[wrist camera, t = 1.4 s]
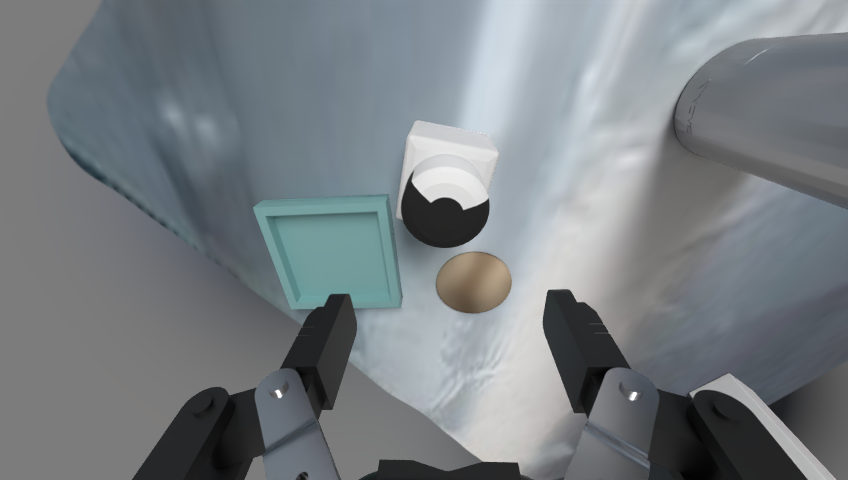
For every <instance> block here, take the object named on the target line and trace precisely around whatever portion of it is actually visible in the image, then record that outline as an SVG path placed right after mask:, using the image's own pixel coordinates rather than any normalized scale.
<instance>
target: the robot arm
mask: <svg viewBox="0 0 848 480" xmlns="http://www.w3.org/2000/svg"><path fill="white" fill-rule="evenodd" d="M675 131H676V134H677V138H678V139H679V141H680V142H681V144H682V145H683V146H684V147H685V148H687V149H688V150H689V151H691V152H694V153H696V154H699V155H701V156H704V157H707V158H709V159H712V160H715V161H718V162H720V163H723V164H725V165H728V166H731V167H733V168H736V169H739V170H741V171H744V172H747V173H750V174H752V175H755V176H758V177H761V178H763V179H766V180H769V181H771V182H774V183H777V184H780V185H782V186H785V187H788V188H791V189H793V190H796V191H799V192H801V193H804V194H807V195H810V196H812V197H815V198H818V199H821V200H823V201H826V202H829V203H831V204H834V205H837V206H840V207H842V208H845V209H848V32H846V33H832V34H818V35H801V36H788V37H775V38H762V39H752V40H748V41H745V42H741V43H738V44H736V45H734V46H732V47H730V48H727V49H725V50H724V51H722V52H721V53H719V54H718V55H716V56H715V57H713V58H712V59H710V60H709V61H708V62H707V63H706V64H705V65H704V66H703V67H702V68H701V69H699V71H698V72H697V73H696V74H695V75H694V77H693V78H692V79H691V80H690V81H689V83H688V85H687V86H686V88H685V89H684V91H683V93H682V95H681V97H680V100H679V102H678V105H677V108H676V113H675ZM543 329H544V333H545V336H546V339H547V342H548V344H549V347H550V350H551V352H552V355H553V358H554V360H555V363H556V366H557V368H558V371H559V374H560V376H561V379H562V382H563V384H564V387H565V390H566V392H567V395H568V398H569V400H570V403H571V406H572V408H573V411H574V413H586V415H587V418H588V421H587V423H586V425H585V427H584V430H583V432H582V435H581V437H580V440H579V443H578V445H577V448H576V450H575V453H574V455H573V458H572V461H571V463H570V466H569V468H568V471H567V474H566V476H565V479H564V480H648V475H649V469H650V462H652V463H654V464H657V465H661V466H663V467H666V468H668V469H669V471H670V473H671V475H672V477H673V479H674V480H808V479H807V478H806V477H805V475H804V474H803V473H802V472H801V470H800V469H799V468H798V467H797V466H796V464H795V463H794V462H793V461H792V459H791V458H790V457H789V456H788V455H787V453H786V452H785V451H784V450H783V448H782V447H781V446H780V445H779V444H778V442H777V441H776V440H775V439H774V437H773V436H772V435H771V434H770V433H769V431H768V430H767V429H766V428H765V426H764V425H763V424H762V423H761V422H760V420H759V419H758V418H757V417H756V415H755V414H754V413H753V412H752V411H751V410H750V409H749V408H748V407H747V406H745V405H744V404H743V403H741V402H740V401H738V400H737V399H735V398H733V397H731V396H729V395H727V394H725V393H722V392H719V391H715V390H700V391H698V392H697V393H696V394H695V395H694V397H693V398H688V397H684V396H681V395H677V394H673V393H669V392H665V391H662V390H659V389H657V388H656V387H655V386H654V385H653V383H652V382H651V381H650V380H649V379H647V378H646V377H645V376H643V375H642V374H640V373H638V372H636V371H634V370H632V369H631V368H630V366H629V364H628V363H627V361H626V360H625V358H624V356H623V355H622V353H621V351H620V350H619V348H618V347H617V345H616V343H615V342H614V340H613V338H612V337H611V335H610V334H609V333H608V330H607V329H606V327H605V325H603V322H602V320H601V319H600V317H599V316H598V314H597V312H596V311H595V310H593V309H592V308H591V307H590V306H589V305H587V304H586V303H585V302H577V301H576V300H575V298H574V296H573V294H572V292H571V291H570V290H569V289H561V290H548V292H547V297H546V303H545V309H544V315H543ZM356 331H357V321H356V317H355V313H354V308H353V304H352V300H351V296H350V294H330V295H329V297H328V299H327V301H326V303H325V305H324V307H317V308H316V309H315V310H313V311H312V312H311V313H310V314H309V315H308V317H307V318H306V320H305V322H304V324H303V328H301V330H300V332H299V334H298V336H297V337H296V339H295V341H294V343H293V345H292V347H291V349H290V351H289V353H288V355H287V356H286V358H285V360H284V362H283V364H282V366H281V368H280V369H279V370H276V371H274V372H272V373H271V374H269V375H268V376H266V377H265V378H264V379H263V380H262V381H261V382H260V384H259V385H258V387H257V388H254V389H250V390H247V391H244V392H240V393H237V394H233V395H229V394H228V392H227V391H226V390H225V389H224V388H221V387H212V388H209V389H206V390H203V391H201V392H199V393H198V394H196V395H195V396H193V397H192V398H191V399H190V400H188V402H186V404H185V405H184V406H183V407H182V408H181V410H180V411H179V413H178V414H177V416H176V417H175V418H174V420H173V421H172V423H171V424H170V426H169V427H168V428H167V430H166V431H165V433H164V434H163V436H162V437H161V439H160V440H159V442H158V443H157V445H156V446H155V447H154V449H153V450H152V452H151V453H150V455H149V456H148V458H147V459H146V460H145V462H144V463H143V465H142V466H141V467H140V469H139V470H138V472H137V473H136V475H135V476H134V478H133V479H132V480H244V479H245V477H246V475H247V472H248V470H249V467H250V465H251V463H252V460H253V458H255V457H258V456H260V455H263V463H264V468H265V473H266V478H267V480H341V478H340V475H339V473H338V470H337V468H336V465H335V463H334V460H333V457H332V455H331V452H330V450H329V447H328V444H327V442H326V439H325V437H324V434H323V432H322V429H321V426H320V424H319V421H318V419H319V417H320V414H321V411H322V410H332V409H333V406H334V403H335V400H336V397H337V393H338V390H339V387H340V384H341V381H342V378H343V374H344V371H345V368H346V365H347V362H348V359H349V355H350V352H351V349H352V346H353V343H354V340H355V336H356ZM359 480H533V479H531V478H529V477H527V476H524V475H521V474H520V471H519V466H518V463H511V462H481V463H477V464H474V465H470V466H467V467H464V468H460V469H456V470H453V471H443V470H440V469H437V468H434V467H431V466H428V465H425V464H422V463H419V462H416V461H413V460H380V461H379V467H378V471H376V472H373V473H371V474H368V475H366V476H364V477H363V478H361V479H359Z"/></svg>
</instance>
